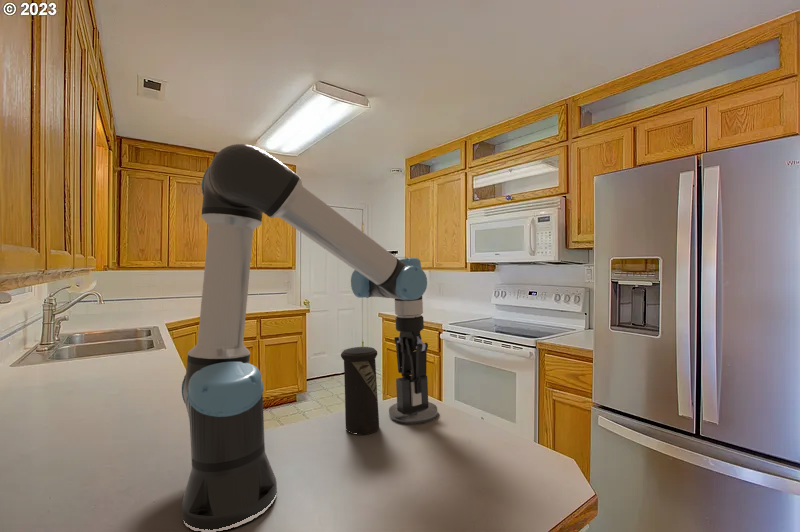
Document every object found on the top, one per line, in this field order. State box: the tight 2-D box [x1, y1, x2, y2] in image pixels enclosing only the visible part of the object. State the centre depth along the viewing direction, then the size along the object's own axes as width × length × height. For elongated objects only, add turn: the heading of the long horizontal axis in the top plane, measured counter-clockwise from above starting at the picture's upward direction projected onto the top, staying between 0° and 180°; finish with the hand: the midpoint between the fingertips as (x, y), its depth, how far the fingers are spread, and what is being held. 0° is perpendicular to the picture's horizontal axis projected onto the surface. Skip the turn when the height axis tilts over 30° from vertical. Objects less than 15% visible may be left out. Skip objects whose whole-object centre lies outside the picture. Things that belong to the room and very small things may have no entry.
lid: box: [388, 375, 439, 425], centre depth 104 cm, size 13×13×10 cm
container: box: [340, 346, 380, 435], centre depth 97 cm, size 9×9×20 cm
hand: (412, 402), depth 104 cm, fingers closed on lid, 3 cm apart
